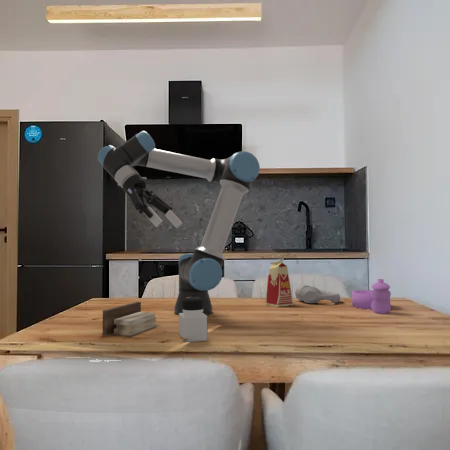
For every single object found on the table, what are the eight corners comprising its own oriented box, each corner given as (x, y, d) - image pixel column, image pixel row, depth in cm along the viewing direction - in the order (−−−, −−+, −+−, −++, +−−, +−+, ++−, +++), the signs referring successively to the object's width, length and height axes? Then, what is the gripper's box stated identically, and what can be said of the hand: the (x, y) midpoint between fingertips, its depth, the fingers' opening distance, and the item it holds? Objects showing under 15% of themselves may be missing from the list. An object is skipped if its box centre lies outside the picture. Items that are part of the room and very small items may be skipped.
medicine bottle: (207, 341, 116) (207, 298, 117) (183, 342, 114) (183, 299, 115) (202, 335, 123) (202, 295, 124) (178, 337, 121) (178, 296, 122)
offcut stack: (113, 333, 120) (114, 319, 120) (140, 324, 133) (140, 311, 134) (131, 335, 118) (131, 320, 118) (156, 325, 131) (156, 312, 131)
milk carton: (293, 305, 180) (293, 259, 181) (277, 307, 175) (277, 260, 175) (279, 302, 187) (279, 259, 188) (264, 304, 182) (263, 259, 183)
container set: (348, 304, 183) (348, 274, 183) (383, 304, 182) (382, 274, 182) (364, 314, 158) (363, 280, 158) (404, 314, 157) (403, 280, 157)
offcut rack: (102, 338, 119) (102, 310, 120) (136, 326, 136) (136, 301, 136) (130, 341, 116) (130, 312, 116) (161, 328, 133) (161, 303, 133)
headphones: (305, 304, 178) (346, 309, 183) (307, 286, 179) (348, 291, 183) (289, 298, 196) (327, 303, 201) (291, 282, 197) (328, 287, 201)
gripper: (144, 193, 152) (180, 233, 146) (101, 185, 128) (142, 232, 123) (156, 178, 150) (193, 218, 144) (115, 167, 127) (157, 214, 121)
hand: (170, 225), depth 133 cm, fingers open, 13 cm apart
